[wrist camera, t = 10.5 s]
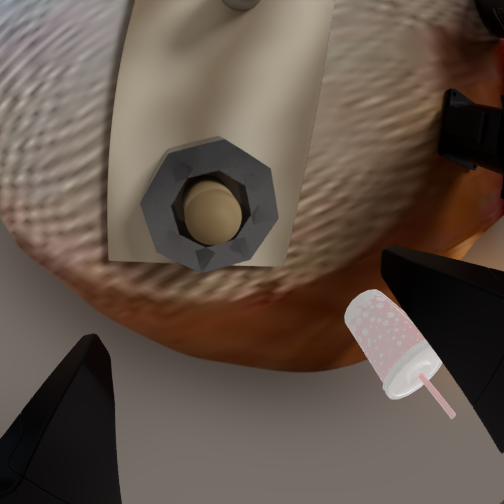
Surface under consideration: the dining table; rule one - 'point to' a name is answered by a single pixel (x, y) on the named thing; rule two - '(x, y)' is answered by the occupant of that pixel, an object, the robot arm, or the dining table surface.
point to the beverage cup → (393, 346)
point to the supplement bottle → (492, 15)
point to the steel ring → (252, 205)
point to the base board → (214, 112)
